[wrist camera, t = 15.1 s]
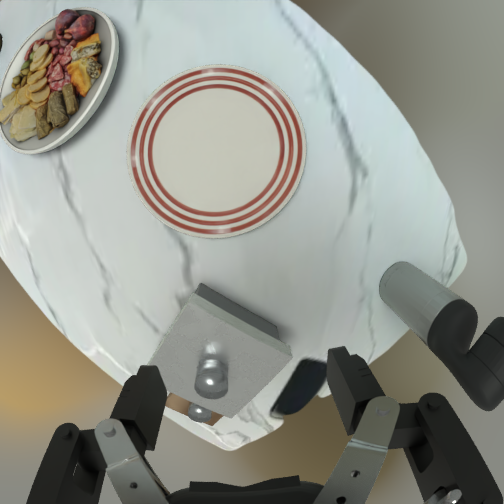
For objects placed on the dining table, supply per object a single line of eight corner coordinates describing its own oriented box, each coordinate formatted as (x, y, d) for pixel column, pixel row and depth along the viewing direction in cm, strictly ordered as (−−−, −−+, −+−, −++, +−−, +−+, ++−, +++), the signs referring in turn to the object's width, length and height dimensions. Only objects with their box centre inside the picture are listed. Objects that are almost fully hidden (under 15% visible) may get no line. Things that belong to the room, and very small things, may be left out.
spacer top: (216, 401, 54) (215, 414, 50) (205, 412, 55) (204, 425, 51) (196, 392, 52) (194, 405, 49) (186, 403, 54) (183, 416, 50)
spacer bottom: (234, 370, 41) (235, 387, 37) (215, 386, 42) (214, 403, 38) (209, 354, 40) (207, 371, 36) (190, 371, 40) (187, 388, 37)
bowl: (101, 159, 40) (78, 159, 33) (0, 152, 37) (-24, 153, 29) (147, 10, 32) (134, -10, 25) (36, 29, 29) (17, 19, 21)
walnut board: (241, 393, 55) (241, 398, 53) (212, 421, 58) (212, 426, 56) (188, 368, 52) (187, 373, 51) (164, 400, 55) (163, 404, 54)
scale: (276, 326, 50) (282, 351, 42) (227, 381, 54) (226, 408, 46) (200, 282, 47) (194, 304, 39) (159, 347, 50) (149, 372, 43)
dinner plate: (157, 61, 36) (151, 54, 33) (317, 92, 39) (323, 87, 36) (121, 215, 43) (113, 219, 40) (278, 249, 46) (281, 255, 43)
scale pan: (289, 345, 44) (292, 357, 40) (231, 406, 47) (231, 418, 44) (192, 292, 40) (189, 301, 37) (146, 365, 44) (141, 377, 41)
